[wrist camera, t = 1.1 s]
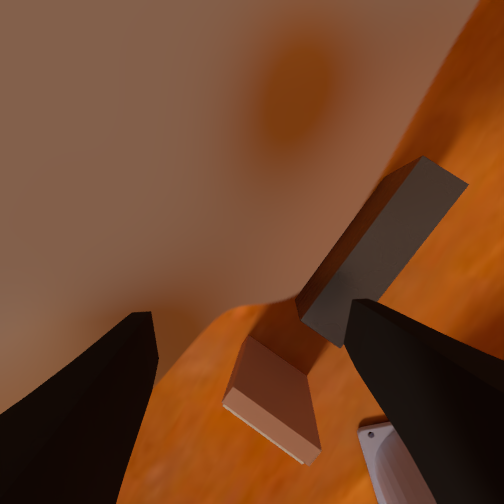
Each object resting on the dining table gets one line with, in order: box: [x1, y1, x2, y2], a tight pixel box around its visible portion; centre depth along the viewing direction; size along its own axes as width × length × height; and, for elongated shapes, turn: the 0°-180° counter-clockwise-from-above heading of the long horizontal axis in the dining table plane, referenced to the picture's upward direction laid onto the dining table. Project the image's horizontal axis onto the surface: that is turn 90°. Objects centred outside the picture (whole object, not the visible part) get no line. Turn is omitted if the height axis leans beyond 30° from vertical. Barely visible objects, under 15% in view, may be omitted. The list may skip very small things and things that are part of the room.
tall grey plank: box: [295, 156, 469, 348], centre depth 16 cm, size 12×3×5 cm, turn 146°
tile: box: [222, 335, 322, 466], centre depth 17 cm, size 2×6×7 cm, turn 56°
